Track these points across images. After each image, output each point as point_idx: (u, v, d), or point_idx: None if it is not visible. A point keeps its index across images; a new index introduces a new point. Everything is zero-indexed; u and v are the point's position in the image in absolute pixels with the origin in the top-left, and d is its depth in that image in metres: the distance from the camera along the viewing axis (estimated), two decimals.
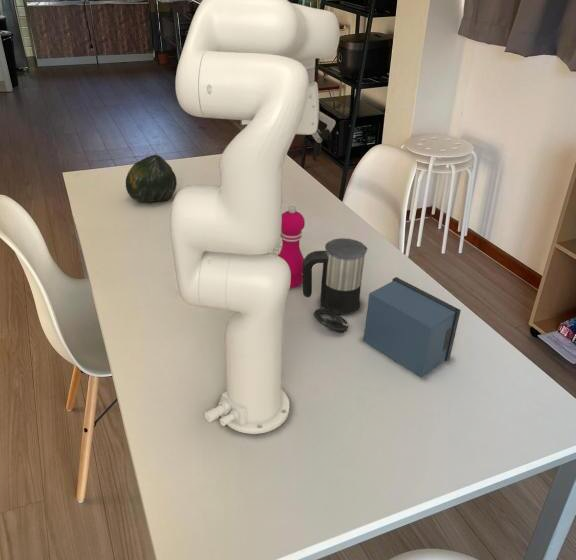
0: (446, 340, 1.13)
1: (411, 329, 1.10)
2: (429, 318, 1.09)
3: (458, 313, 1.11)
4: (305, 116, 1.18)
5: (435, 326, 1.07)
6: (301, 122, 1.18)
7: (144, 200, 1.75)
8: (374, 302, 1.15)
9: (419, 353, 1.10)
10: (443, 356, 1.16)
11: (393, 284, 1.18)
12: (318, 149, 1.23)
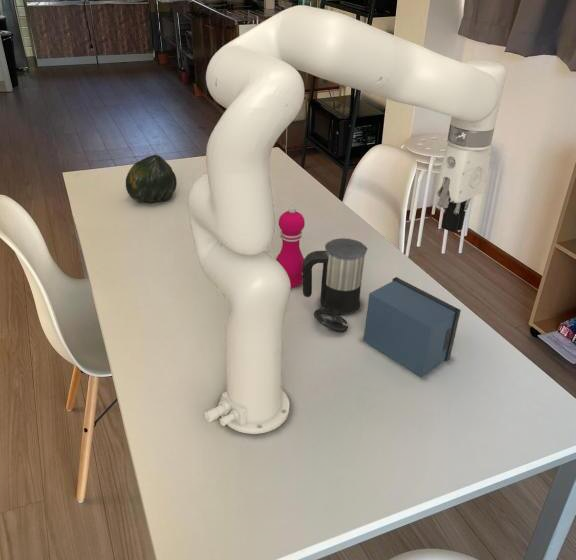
0: (446, 340, 1.13)
1: (411, 329, 1.10)
2: (429, 318, 1.09)
3: (458, 313, 1.11)
4: (483, 176, 1.06)
5: (435, 326, 1.07)
6: (479, 183, 1.06)
7: (144, 200, 1.75)
8: (374, 302, 1.15)
9: (419, 353, 1.10)
10: (443, 356, 1.16)
11: (393, 284, 1.18)
12: None
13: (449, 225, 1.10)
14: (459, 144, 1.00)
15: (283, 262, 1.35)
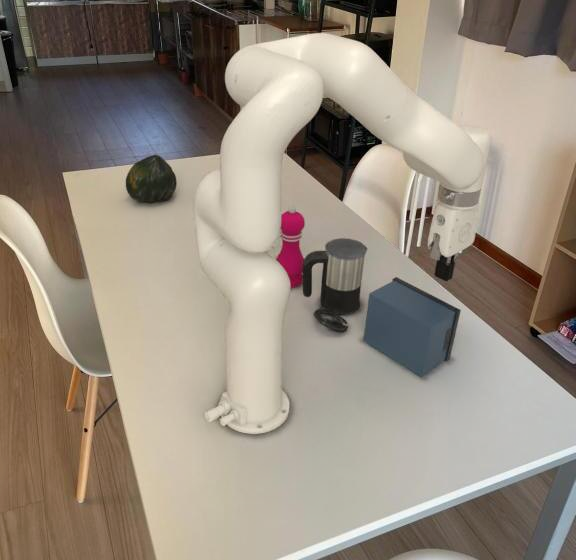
0: (446, 340, 1.13)
1: (411, 329, 1.10)
2: (429, 318, 1.09)
3: (458, 313, 1.11)
4: (471, 230, 1.12)
5: (435, 326, 1.07)
6: (468, 237, 1.12)
7: (144, 200, 1.75)
8: (374, 302, 1.15)
9: (419, 353, 1.10)
10: (443, 356, 1.16)
11: (393, 284, 1.18)
12: None
13: (441, 274, 1.16)
14: (448, 203, 1.06)
15: (283, 262, 1.35)
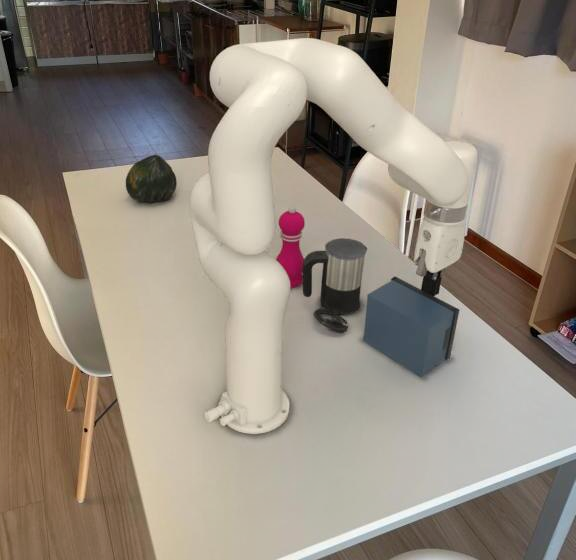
0: (446, 340, 1.13)
1: (410, 330, 1.10)
2: (427, 319, 1.08)
3: (457, 313, 1.10)
4: (458, 245, 1.10)
5: (433, 327, 1.07)
6: (455, 252, 1.11)
7: (144, 200, 1.75)
8: (372, 303, 1.15)
9: (418, 354, 1.10)
10: (443, 355, 1.15)
11: (392, 284, 1.18)
12: None
13: (428, 290, 1.15)
14: (434, 219, 1.05)
15: (283, 262, 1.35)
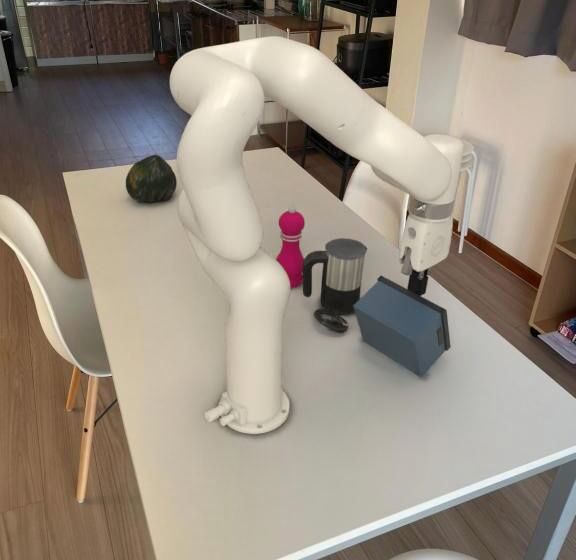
0: (440, 337, 1.10)
1: (398, 340, 1.08)
2: (413, 329, 1.06)
3: (444, 313, 1.06)
4: (445, 243, 1.06)
5: (419, 338, 1.04)
6: (442, 250, 1.07)
7: (144, 200, 1.75)
8: (360, 313, 1.13)
9: (412, 359, 1.10)
10: (442, 348, 1.13)
11: (377, 286, 1.15)
12: None
13: (414, 289, 1.11)
14: (419, 216, 1.01)
15: (283, 262, 1.35)
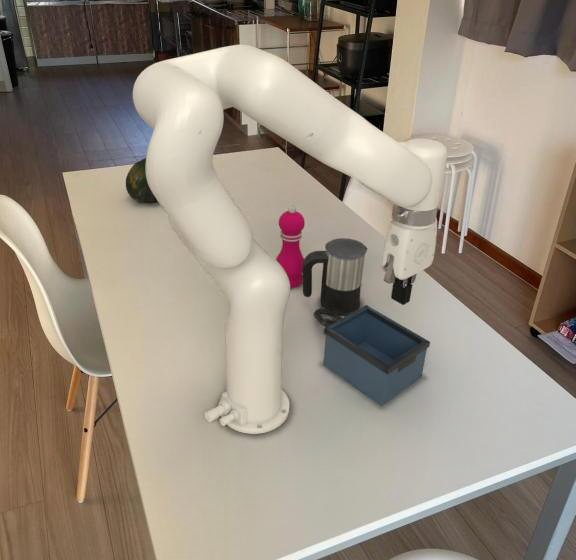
0: (408, 364, 1.05)
1: None
2: (374, 391, 1.05)
3: (389, 371, 1.01)
4: (429, 250, 1.04)
5: (383, 399, 1.05)
6: (426, 258, 1.04)
7: (144, 200, 1.75)
8: None
9: None
10: (421, 353, 1.08)
11: (329, 341, 1.11)
12: None
13: (398, 297, 1.08)
14: (402, 222, 0.98)
15: (283, 262, 1.35)
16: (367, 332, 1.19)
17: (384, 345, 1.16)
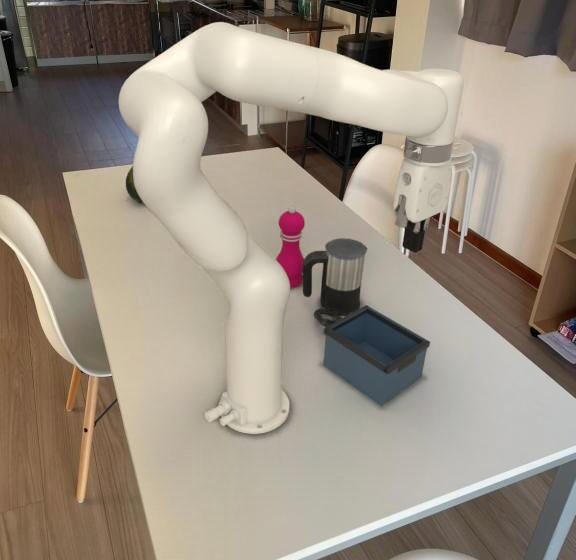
0: (408, 364, 1.05)
1: None
2: (374, 391, 1.05)
3: (389, 371, 1.01)
4: (443, 192, 0.98)
5: (383, 399, 1.05)
6: (439, 201, 0.98)
7: None
8: None
9: None
10: (421, 353, 1.08)
11: (328, 341, 1.11)
12: None
13: (409, 244, 1.02)
14: (415, 159, 0.92)
15: (283, 262, 1.35)
16: (367, 332, 1.19)
17: (384, 345, 1.16)
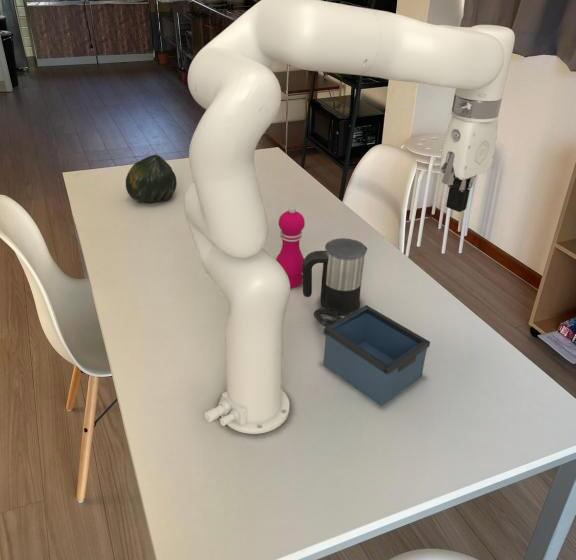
0: (408, 364, 1.05)
1: None
2: (374, 391, 1.05)
3: (389, 371, 1.01)
4: (489, 151, 0.99)
5: (383, 399, 1.05)
6: (486, 159, 0.99)
7: (144, 200, 1.75)
8: None
9: None
10: (421, 353, 1.08)
11: (328, 341, 1.11)
12: None
13: (454, 204, 1.03)
14: (464, 116, 0.94)
15: (283, 262, 1.35)
16: (367, 332, 1.19)
17: (384, 345, 1.16)
